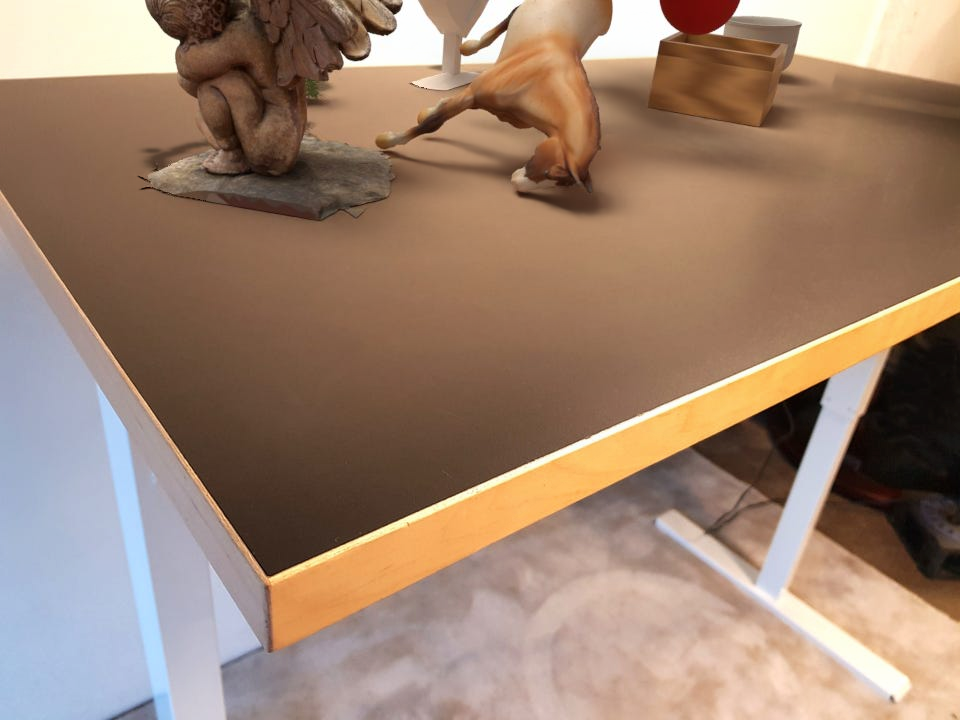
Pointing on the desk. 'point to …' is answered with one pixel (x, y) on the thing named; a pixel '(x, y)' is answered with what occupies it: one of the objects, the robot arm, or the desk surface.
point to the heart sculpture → (451, 39)
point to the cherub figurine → (271, 102)
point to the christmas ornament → (698, 14)
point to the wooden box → (717, 77)
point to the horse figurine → (535, 89)
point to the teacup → (766, 31)
